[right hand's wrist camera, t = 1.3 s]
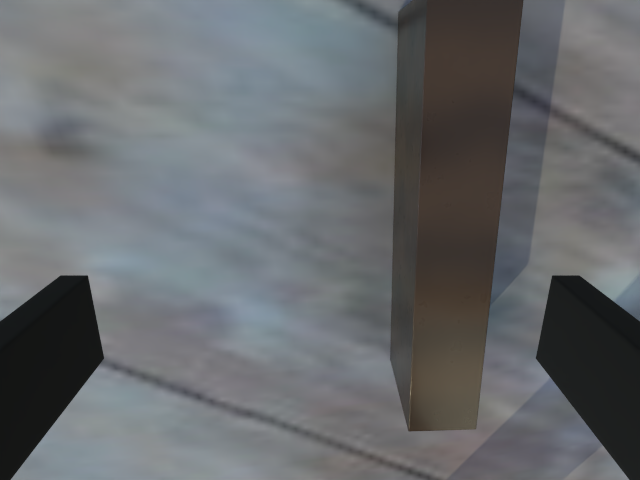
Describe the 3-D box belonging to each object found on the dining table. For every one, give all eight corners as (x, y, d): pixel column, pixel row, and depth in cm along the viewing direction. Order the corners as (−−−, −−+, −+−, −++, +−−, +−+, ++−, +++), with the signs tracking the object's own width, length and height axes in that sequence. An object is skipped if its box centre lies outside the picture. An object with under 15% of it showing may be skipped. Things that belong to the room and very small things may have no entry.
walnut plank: (398, 11, 28) (427, -13, 20) (469, 8, 28) (525, -17, 20) (390, 359, 37) (408, 431, 29) (444, 357, 37) (476, 429, 29)
